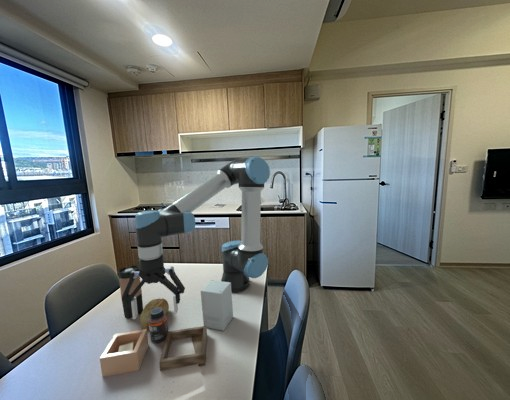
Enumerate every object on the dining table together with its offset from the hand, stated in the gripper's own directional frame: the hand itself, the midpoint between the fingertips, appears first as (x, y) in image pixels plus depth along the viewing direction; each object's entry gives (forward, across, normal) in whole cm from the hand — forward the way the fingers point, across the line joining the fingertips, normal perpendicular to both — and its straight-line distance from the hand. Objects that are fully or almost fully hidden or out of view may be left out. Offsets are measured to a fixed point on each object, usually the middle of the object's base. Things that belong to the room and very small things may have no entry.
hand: (156, 314), depth 79 cm
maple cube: (+9, +8, +8) cm, 14 cm away
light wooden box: (+10, +8, +8) cm, 15 cm away
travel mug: (+10, +14, -19) cm, 26 cm away
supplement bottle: (+10, 0, 0) cm, 10 cm away
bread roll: (+10, +4, -12) cm, 16 cm away
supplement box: (+10, -22, -5) cm, 24 cm away
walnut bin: (+10, -10, +8) cm, 16 cm away
